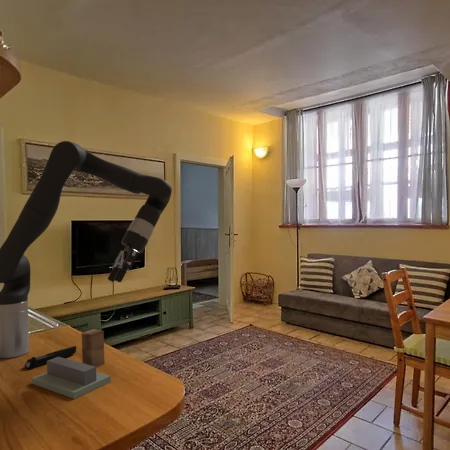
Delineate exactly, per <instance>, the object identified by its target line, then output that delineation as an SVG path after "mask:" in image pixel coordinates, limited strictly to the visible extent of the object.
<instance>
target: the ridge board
mask: <svg viewBox="0 0 450 450" xmlns="http://www.w3.org/2000/svg"><path fill="white" fill-rule="evenodd" d="M111 382H112V376H111V375H109V374H105V373H102V372H99V371H97V367H95V366H91V365H87V364H84V363H82V362H79V361H76V360H72V359H68V358H66V357H65V358H62V357H56V358H54V359H51V360H48V361H47V363H46V372H44V373H41V374H39V375H36V376H32V378H31V384H33V385H34V386H37V387H40V388H44V389H45V390H49V391H52V392H55V393H56V394H60V395H62V396H65V397H68V398H71V399H73V400H74V399H77V398H79V397H81V396H84V395H85V394H88V393H90V392H92V391H94V390H96V389H98V388H101V387H102V386H104V385H106V384H109V383H111Z"/></svg>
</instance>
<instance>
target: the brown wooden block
mask: <svg viewBox="0 0 450 450" xmlns="http://www.w3.org/2000/svg"><path fill="white" fill-rule="evenodd" d="M104 337H105V332H104V330H101V329H96V328H95V329H94V328H93V329H89V330H87V331H84V332H81V355H82V356H81V357H82V359H81V360H82V362H81V363H84V364H87V365H91V366H95V367H96V368H98V367H101V366H103V365H105V338H104Z"/></svg>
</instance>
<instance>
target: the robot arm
mask: <svg viewBox="0 0 450 450" xmlns="http://www.w3.org/2000/svg"><path fill="white" fill-rule="evenodd" d="M73 172H78V173H84V174H88V175H91V176H93V177H96V178H99V179H101V180H104V181H105V182H107V183H109V184H111V185H113V186H115V187H117V188H120V189H122V190H123V191H127V192H129V193H131V194H135V195H140V194H145V195H148V196H147V198H146V201H145V202H144V204H143V205H142V206H141V207H140V208H139V210H138V212H137V214H135V217H134V218H133V220H132V222H131V223H130V224H129V226H128V228H127V229H126V232H125V234H124V235H123V237H122V239H121V241H120V243H121V244H122V246H123V247H124V249H123V250H120V251H119V253H118V254H117V256H116V258H115V260H114V262H113V263H112V266H111V267H112V270H111V271H110V273H109V275H108V277H107V280H108V281H110V282H112V283H113V282H118V283H122V282H123V280H124V277H125V275H126V274H127V272H129V270H131V269H132V268H133V266H134V263H135V261H136V260H137V257H138V255H140V254H141V253H144V250H145V248H146V247H147V244H148V243H149V240H150V239H151V236H152V235H153V232H154V229H155V227H156V225H157V223H158V222H159V219H160V218H161V215H162V213H163V212H164V211H165V209H166V207H167V205H168V204H169V202H170V200H171V197H172V192H173V190H172V189H173V188H172V186H171V184H170V183H169V182H168V181H167V180H165V179H162V178H161V177H156V176H152V175H147V174H142V173H140V172H138V171H135V170H133V169H130V168H127V167H125V166H122V165H119V164H116V163H113V162H110V161H107V160H106V159H105V160H104V159H103V158H100V157H99V156H96V155H95V154H93V153H91V152H90V151H88V150H87V149H85V148H83V146H81V145H80V144H77V143H75V142H72V141H69V140H63V141H62V140H61V141H60V142H58V143H56V144H55V145H54V147H53V148H52V150H51V152H50V154H49V157H48V159H47V162H46V164H45V166H44V169H43V171H42V174H41V176H40V178H39V180H38V181H37V183H36V184H35V187H34V188H33V189H32V192H31V193H30V195H29V197H28V198H27V200H26V202H25V203H24V205H23V208H22V209H21V212H20V214H19V215H18V218H17V219H16V221H15V223H14V225H13V227H12V228H11V230H10V232H9V234H8V236H7V237H6V239H5V241H4V242H3V244H2V245H1V246H0V284H3V287H2V289H1V290H0V359H10V358H16V357H20V356H24V355H26V354H27V353H29V352H30V337H29V336H30V333H29V332H30V331H29V330H30V328H29V326H30V325H29V294H30V290H31V263H30V260H29V259H28V257H27V256H26V255H25V253H26V251H27V250H28V248H29V247H30V246H31V245H32V244H33V243H34V242H35V241H36V240H37V239H38V238H39V237H40V236H42V234H44V233H45V231H46V230H47V229H48V227H49V226H50V225H51V222H52V221H53V219H54V217H55V215H56V213H57V211H58V208H59V205H60V200H61V195H62V191H63V188H64V186H65V184H66V182H67V180H68V179H69V178H70V176H71V175H72V173H73Z"/></svg>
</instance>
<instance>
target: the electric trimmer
mask: <svg viewBox="0 0 450 450" xmlns="http://www.w3.org/2000/svg"><path fill="white" fill-rule="evenodd" d="M76 352H77V345H75V346H69V347H66V348H63V349H60V350H56V351H53V352H50V353H46V354H44V355H41V356H40V355H39V356H37V357H35V356H32V357H31V358H30V359H29V358H28V359H27V360H26V362H25V364H24V369H25V370H28V371H30V370H33V369H35V368H36V367H39V366H42V365H45V364H46V365H47V361H48V360H51V359H54V358H56V357H62V358H65V359H66V358H68V357H70V356H72V355H75V354H76Z"/></svg>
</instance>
